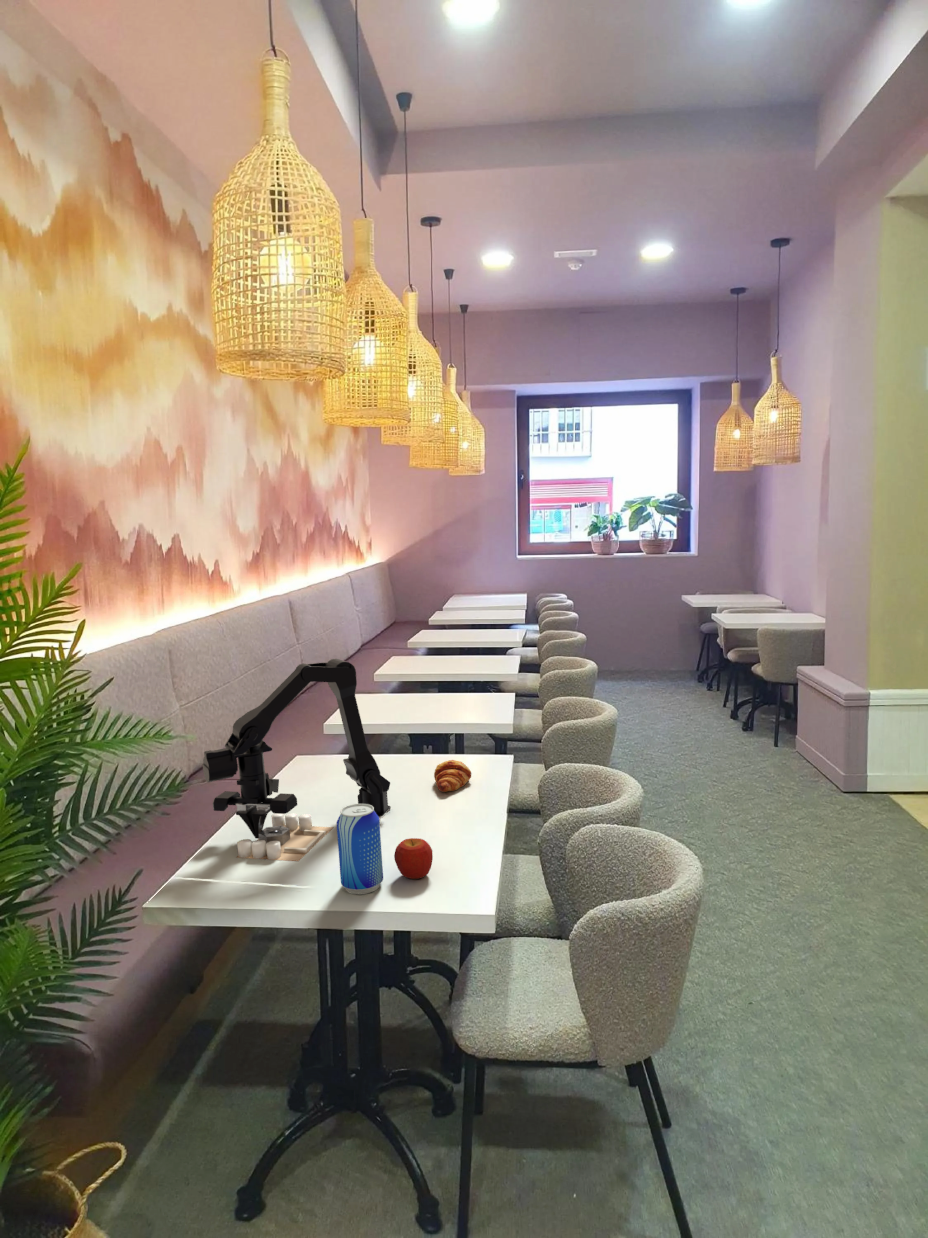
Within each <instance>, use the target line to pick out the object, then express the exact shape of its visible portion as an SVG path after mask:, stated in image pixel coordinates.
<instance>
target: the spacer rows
mask: <svg viewBox="0 0 928 1238" xmlns="http://www.w3.org/2000/svg"><path fill="white" fill-rule="evenodd" d="M312 821H313V820H312V814H310V813H303V814H300V815H298V813H286V815H285V814H276V813H273V814H272V815H271V827H273V826H280V825H282V826H284V827H285V825H286V828H289V829H290V830H295V829H297V828H299V830H301V831H304V830H310V829H312V826H313V822H312ZM256 840H257V841H256ZM256 840H253V841H252V839H249V838H245V839H241V840H238V841H237V842H236V844H237V854H238V855H237V856H239V857H241V858H240V859H246V858H245V857H249V856H251V855H252V854H253V858H256V859H255V860H260V859H259V858H263V857H265V856H266V855H267V858H268V859H271V860H272V859H278V858H280V857H281V847H280V842H279V841H270V842H268V843H267V844H266V841H265V840H258V839H256ZM266 849H267V852H266ZM268 859H267V860H268ZM271 860H270V861H271ZM272 861H273V860H272Z"/></svg>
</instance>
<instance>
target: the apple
mask: <svg viewBox="0 0 928 1238" xmlns="http://www.w3.org/2000/svg"><path fill="white" fill-rule="evenodd" d="M433 855H434V854H433V848H432V847H431V845H430V843H428V842H427V841H426V840H425V839H423V838H415V837H414V838H405V839H404V840H402V841H400V842H399V843H398V845H397V846H396V847H395V851H394V855H393V856H394V858H393V859H394V863H395V865H396V867H397V869H398V871H399V873H400V874H401V876H402V877H405V878H407V879H412V880H416V879H417V880H418V879H422V878H424V877H425V876H426V877H427V875H428V874H429V873H430V870H431V869H432V864H433V857H434V856H433Z"/></svg>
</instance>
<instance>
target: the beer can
mask: <svg viewBox="0 0 928 1238" xmlns="http://www.w3.org/2000/svg"><path fill="white" fill-rule="evenodd" d="M380 823H381V822H380V816H378V815H377V814H376V813H375V811H374V807H373V806H372V805H369V804H358V803H353V804H350V805H346V806H344V807H342V808H341V809H340V814H339V816H338V818H337V821H336V834H337V846H338V847H337V849H338V862H339V874H340V883H341V886H342V887H343V888H344V890H345V891H346V892H348V894H349V893H350V894H352V895H365V894H370V893H372V892H375V891H376V890H378V889H379V888H380V886H381V884H382V882H383V880H384V871H383V867H384V866H383V854H382V853H383V852H382V840H381V827H380V826H381V824H380Z"/></svg>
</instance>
